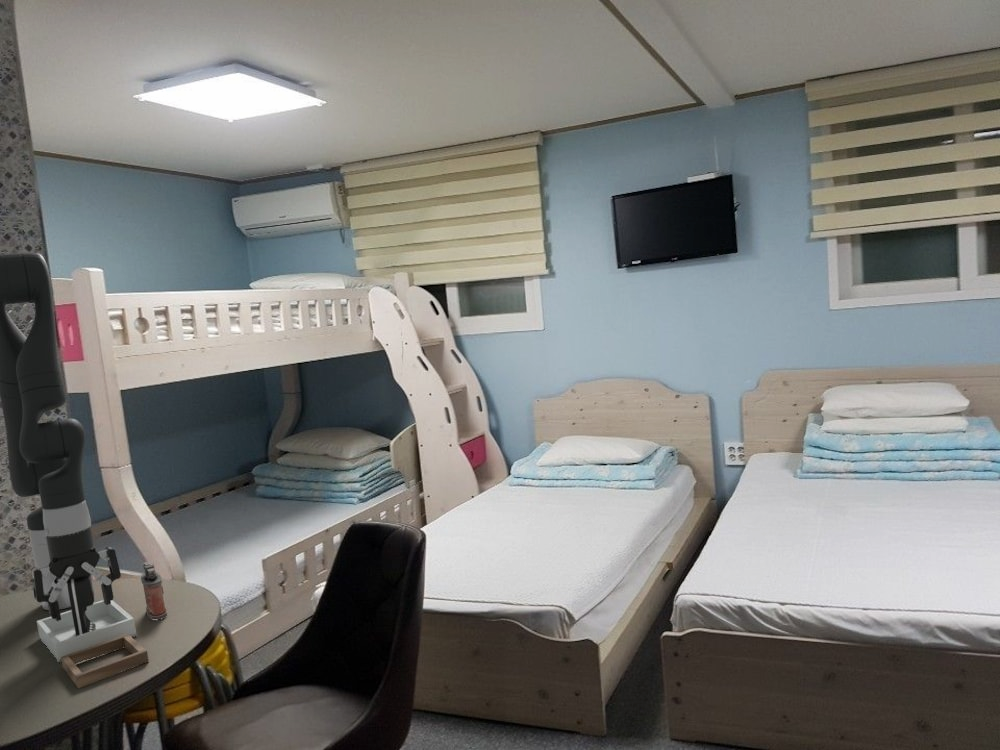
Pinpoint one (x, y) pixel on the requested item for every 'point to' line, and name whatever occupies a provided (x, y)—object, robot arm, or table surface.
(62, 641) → the bin
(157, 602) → the lighter
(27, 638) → the table surface
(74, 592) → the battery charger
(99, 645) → the brown flat square frame
